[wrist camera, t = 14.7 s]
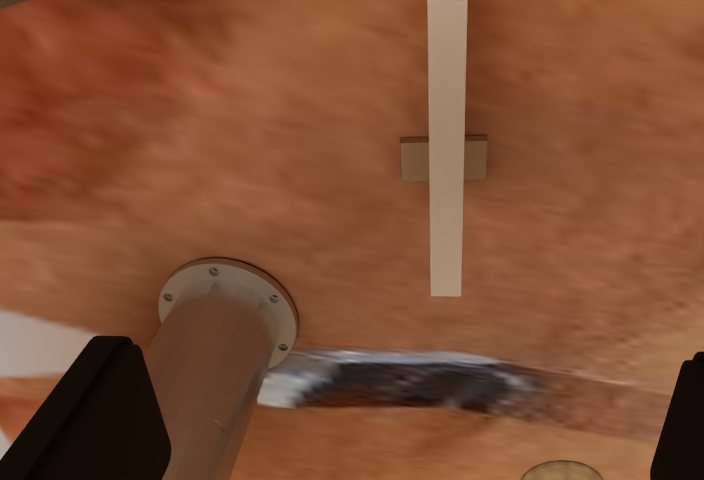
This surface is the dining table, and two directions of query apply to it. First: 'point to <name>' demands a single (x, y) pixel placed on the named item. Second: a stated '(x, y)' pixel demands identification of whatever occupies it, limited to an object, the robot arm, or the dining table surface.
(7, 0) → the thermos bottle
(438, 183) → the screen
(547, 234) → the dining table surface
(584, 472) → the hand bell
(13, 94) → the dining table surface
